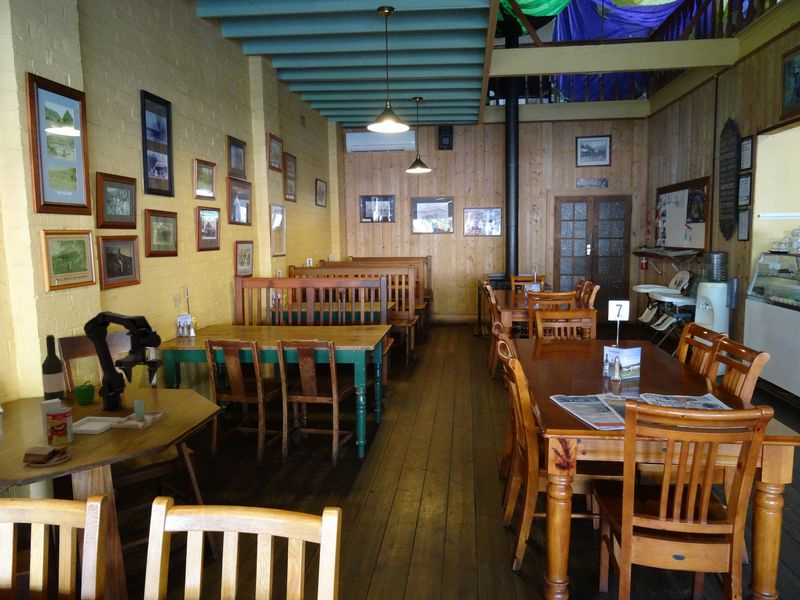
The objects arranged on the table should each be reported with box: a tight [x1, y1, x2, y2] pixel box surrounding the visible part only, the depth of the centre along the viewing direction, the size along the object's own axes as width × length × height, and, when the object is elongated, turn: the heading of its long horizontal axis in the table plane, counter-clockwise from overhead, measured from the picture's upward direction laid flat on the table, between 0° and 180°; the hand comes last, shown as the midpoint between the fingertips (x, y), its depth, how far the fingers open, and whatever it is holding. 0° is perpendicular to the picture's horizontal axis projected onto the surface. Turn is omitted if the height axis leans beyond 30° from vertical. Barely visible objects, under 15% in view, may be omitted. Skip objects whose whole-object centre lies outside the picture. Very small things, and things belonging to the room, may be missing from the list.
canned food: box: [46, 406, 74, 447], centre depth 204 cm, size 8×8×12 cm
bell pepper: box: [73, 380, 96, 405], centre depth 255 cm, size 8×8×10 cm
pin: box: [133, 399, 145, 422], centre depth 227 cm, size 3×3×8 cm
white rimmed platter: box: [72, 416, 123, 435], centre depth 220 cm, size 15×15×2 cm
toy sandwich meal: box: [22, 444, 73, 468], centre depth 187 cm, size 12×14×5 cm
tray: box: [111, 410, 167, 430], centre depth 227 cm, size 18×12×2 cm, turn 172°
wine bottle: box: [41, 334, 66, 401], centre depth 261 cm, size 8×8×30 cm
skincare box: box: [40, 399, 62, 434], centre depth 217 cm, size 6×4×12 cm
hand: (140, 383), depth 238 cm, fingers open, 9 cm apart
